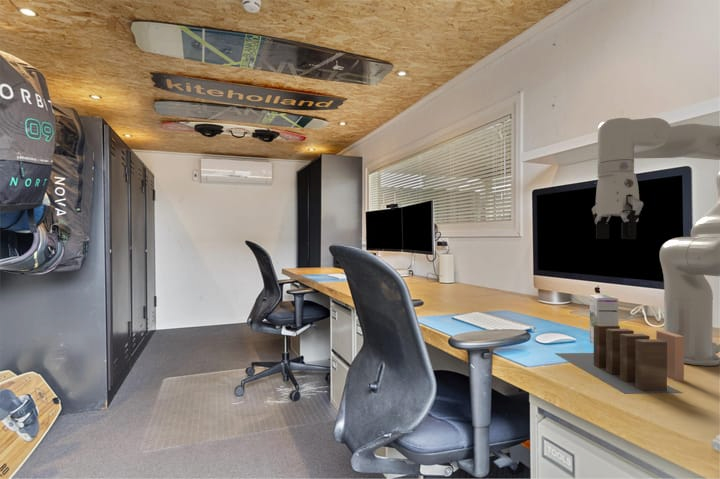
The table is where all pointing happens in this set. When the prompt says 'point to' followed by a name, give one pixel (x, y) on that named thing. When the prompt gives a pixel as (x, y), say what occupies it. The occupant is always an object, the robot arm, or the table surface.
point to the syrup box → (602, 312)
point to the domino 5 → (673, 354)
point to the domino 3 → (629, 355)
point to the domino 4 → (651, 365)
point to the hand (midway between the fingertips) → (615, 239)
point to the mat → (606, 374)
